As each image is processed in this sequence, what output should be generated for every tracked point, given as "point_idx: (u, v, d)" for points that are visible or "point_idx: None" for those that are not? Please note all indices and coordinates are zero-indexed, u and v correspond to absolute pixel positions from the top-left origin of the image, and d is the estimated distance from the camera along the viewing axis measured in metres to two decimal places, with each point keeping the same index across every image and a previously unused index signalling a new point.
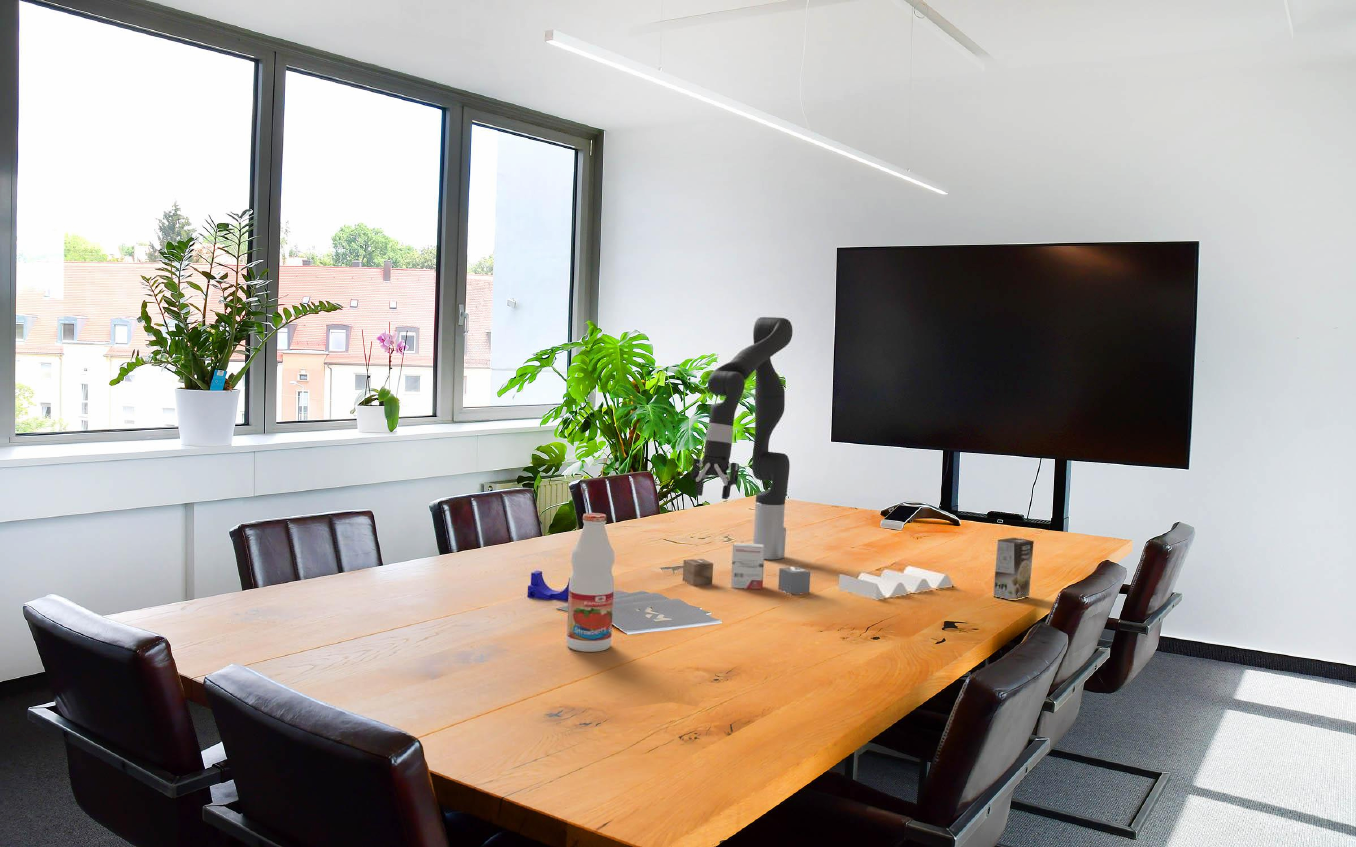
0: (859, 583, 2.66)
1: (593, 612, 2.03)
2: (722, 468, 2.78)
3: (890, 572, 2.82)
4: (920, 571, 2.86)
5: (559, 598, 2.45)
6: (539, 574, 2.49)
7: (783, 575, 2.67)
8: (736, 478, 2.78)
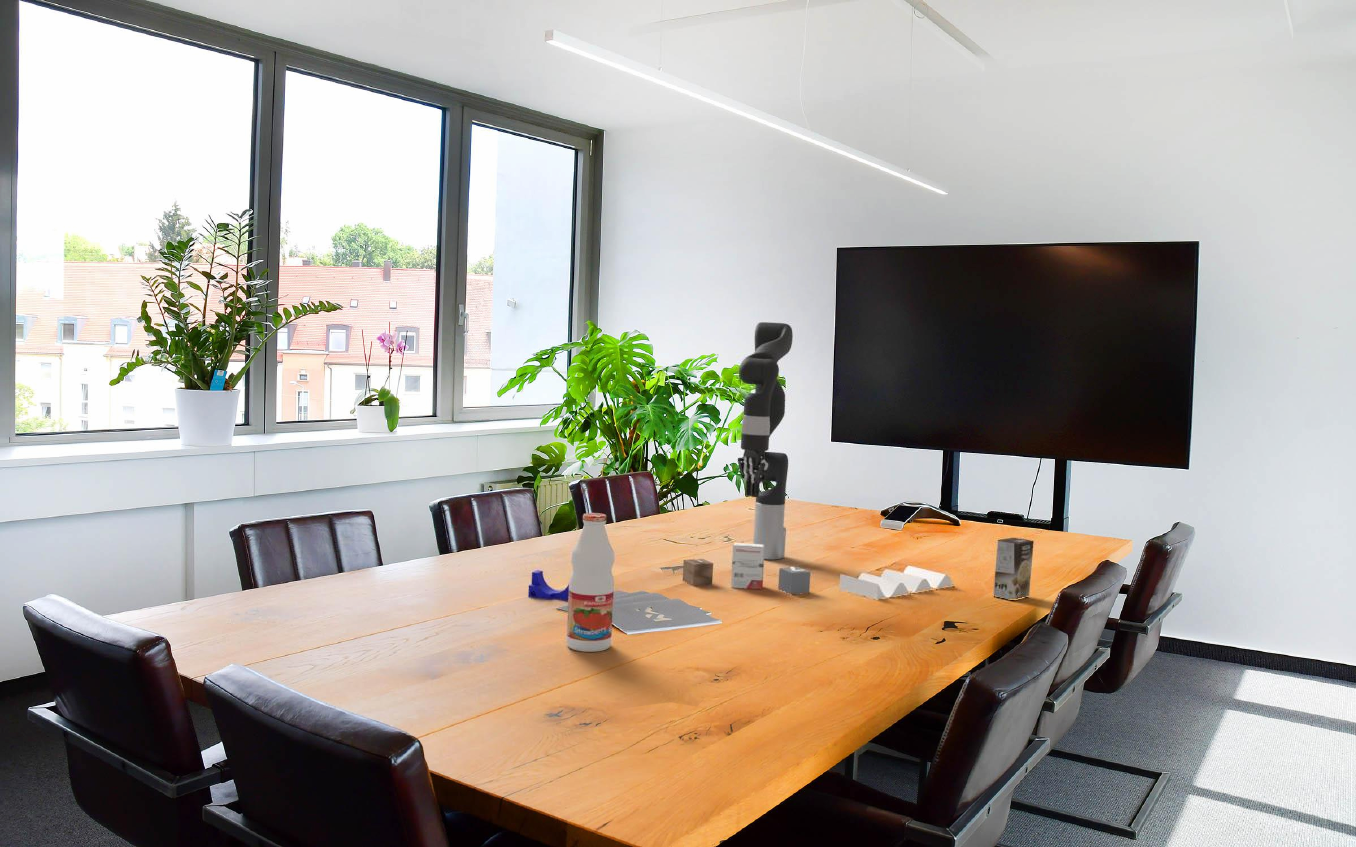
0: (860, 583, 2.66)
1: (593, 612, 2.03)
2: (755, 465, 2.65)
3: (890, 572, 2.82)
4: (920, 571, 2.86)
5: (560, 597, 2.46)
6: (540, 574, 2.49)
7: (783, 575, 2.67)
8: (764, 476, 2.64)
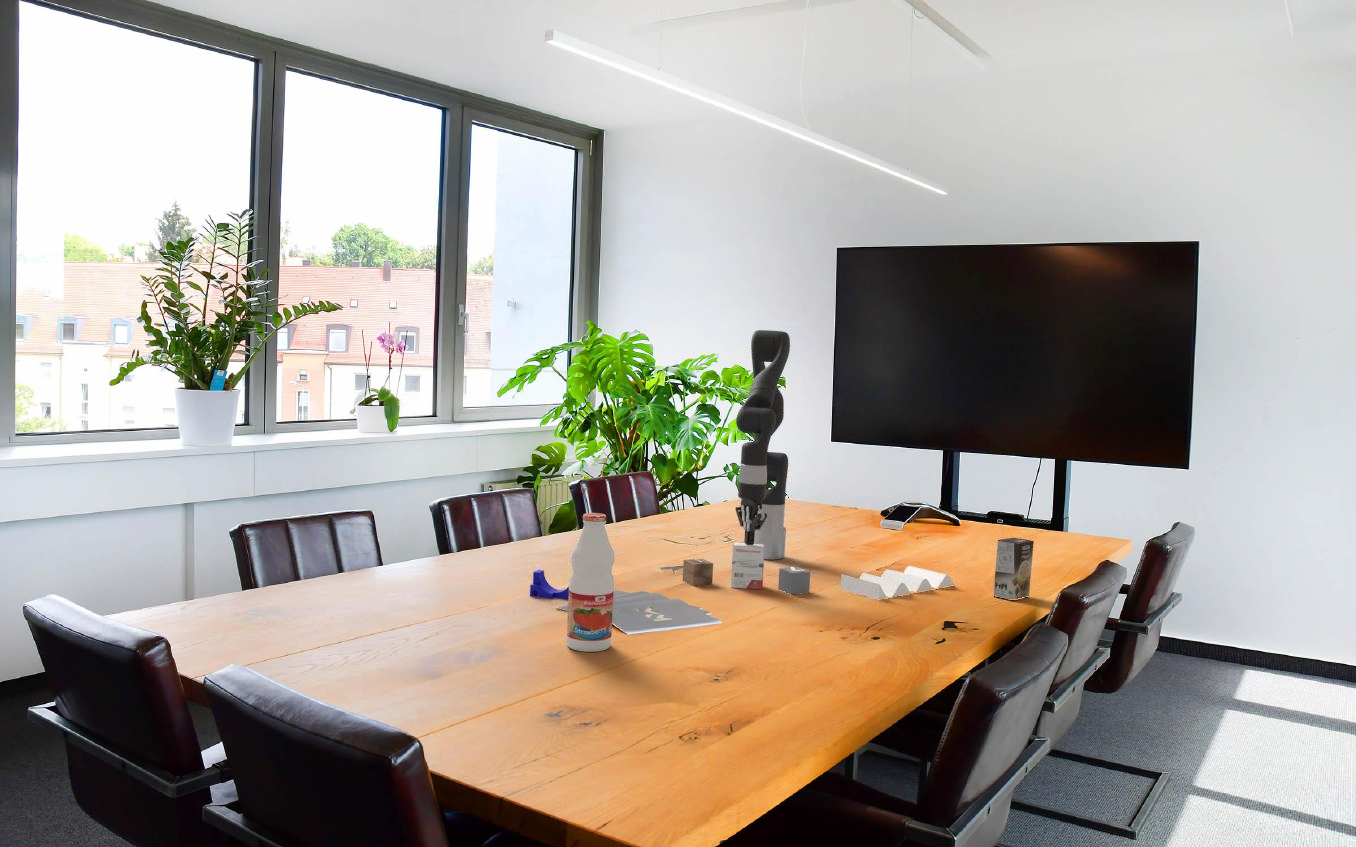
0: (862, 583, 2.66)
1: (593, 612, 2.03)
2: (751, 514, 2.66)
3: (891, 572, 2.82)
4: (921, 571, 2.86)
5: (562, 597, 2.47)
6: (541, 573, 2.50)
7: (782, 575, 2.67)
8: (759, 525, 2.66)
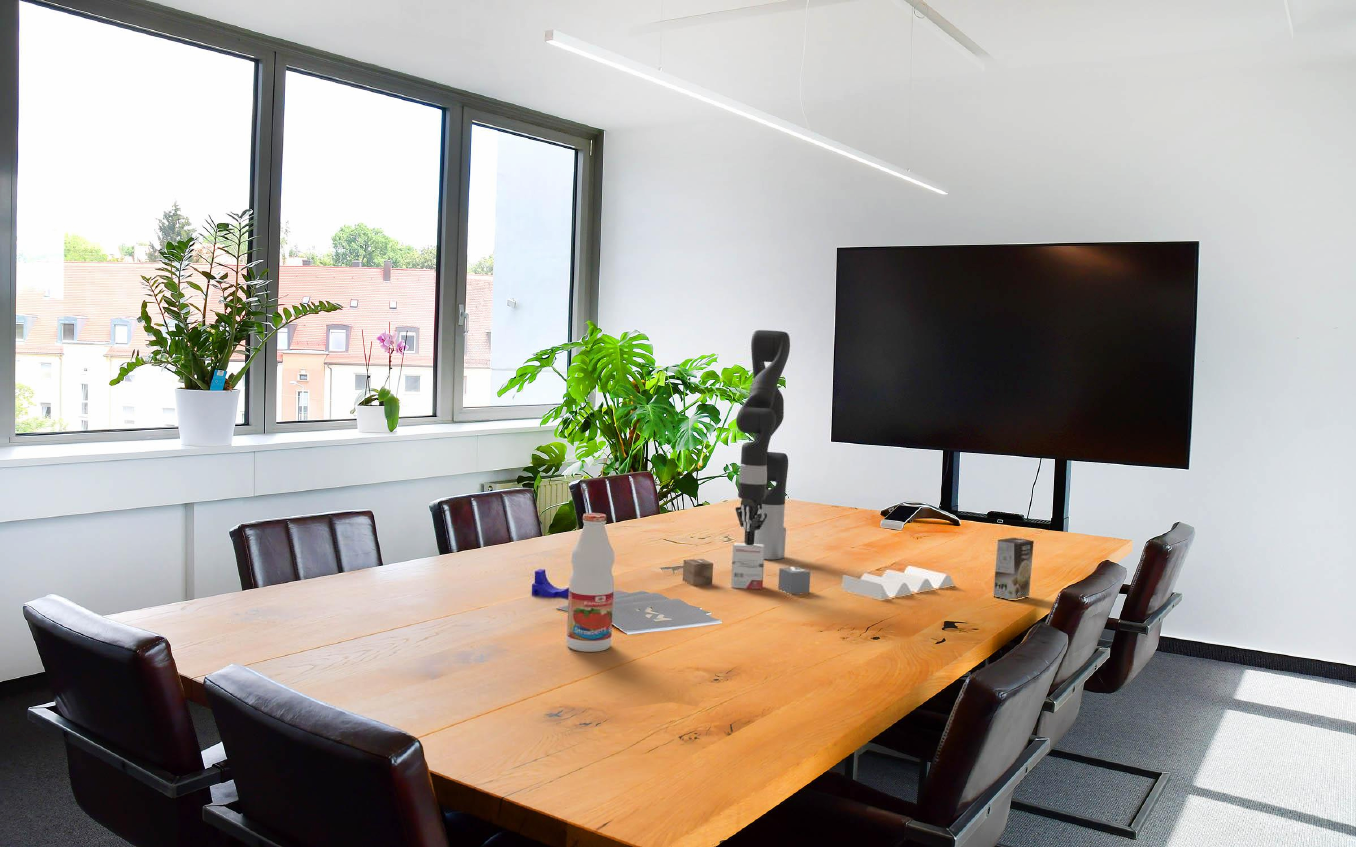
0: (864, 583, 2.66)
1: (593, 612, 2.03)
2: (751, 514, 2.66)
3: (892, 572, 2.82)
4: (921, 571, 2.86)
5: (563, 596, 2.48)
6: (543, 572, 2.51)
7: (782, 575, 2.67)
8: (759, 525, 2.66)
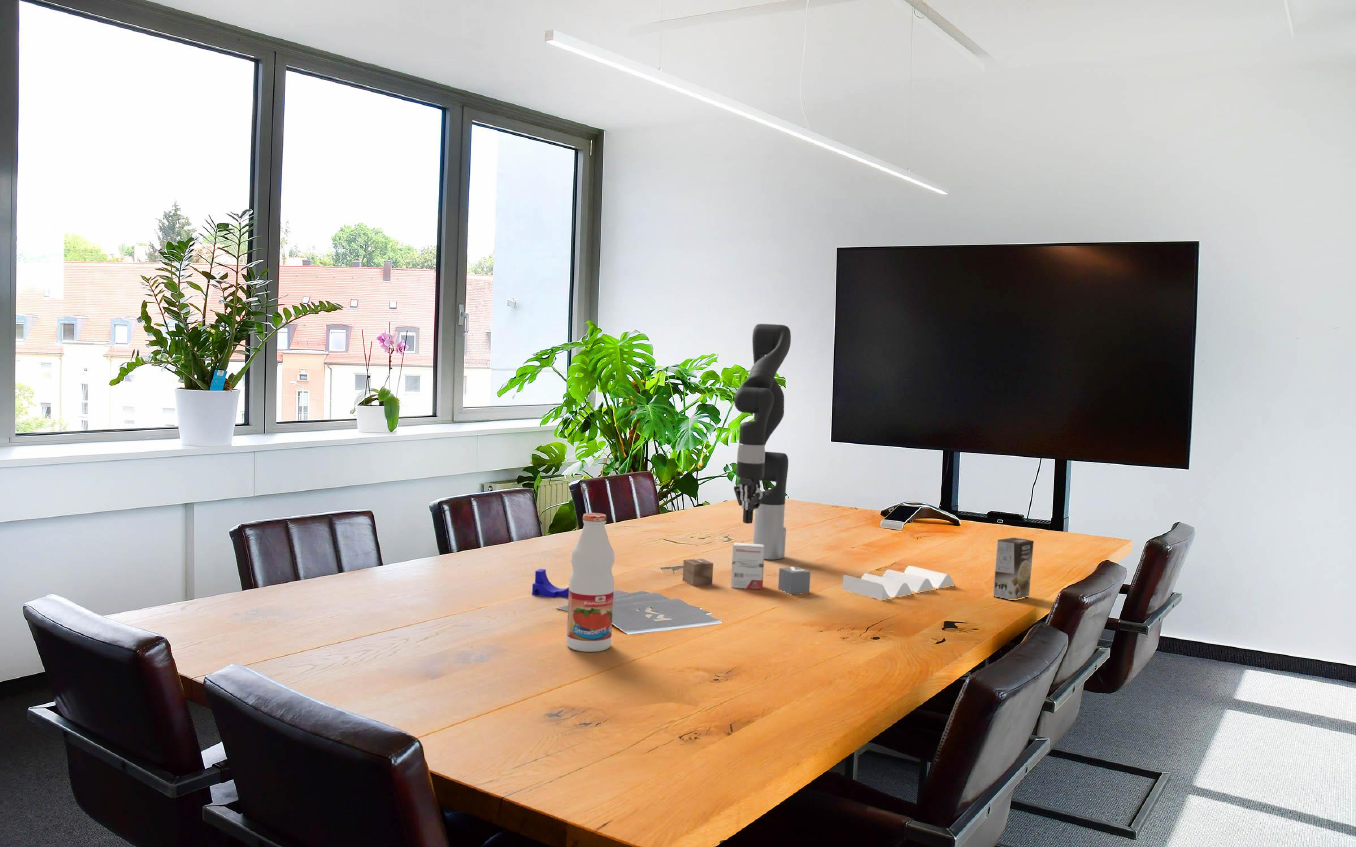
0: (864, 583, 2.66)
1: (593, 612, 2.03)
2: (750, 493, 2.68)
3: (892, 572, 2.82)
4: (921, 570, 2.86)
5: (564, 595, 2.48)
6: (543, 572, 2.51)
7: (782, 575, 2.67)
8: (758, 504, 2.68)
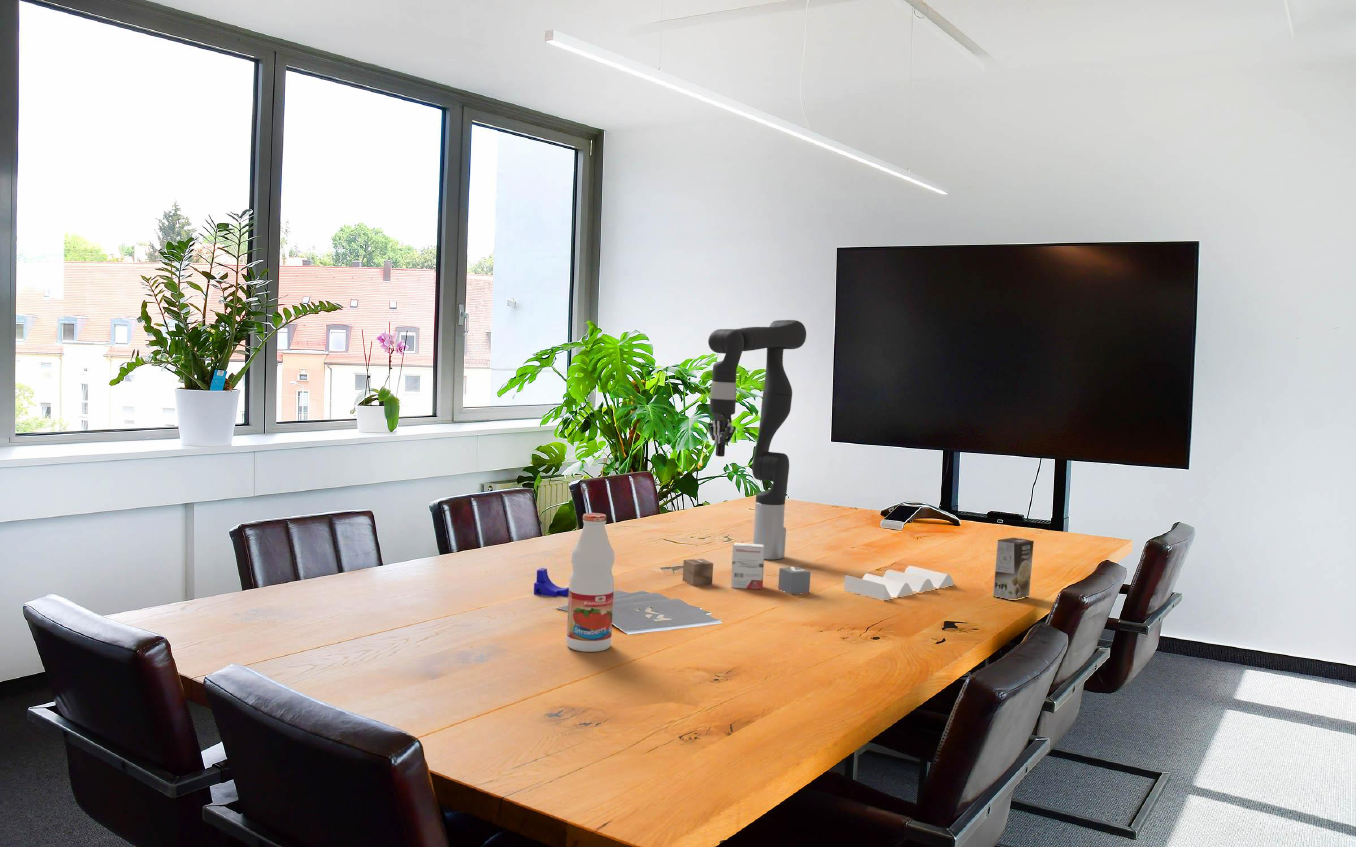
0: (866, 584, 2.65)
1: (593, 612, 2.03)
2: (722, 427, 2.88)
3: (893, 572, 2.82)
4: (922, 571, 2.87)
5: (565, 595, 2.49)
6: (544, 571, 2.52)
7: (783, 575, 2.67)
8: (729, 438, 2.88)
